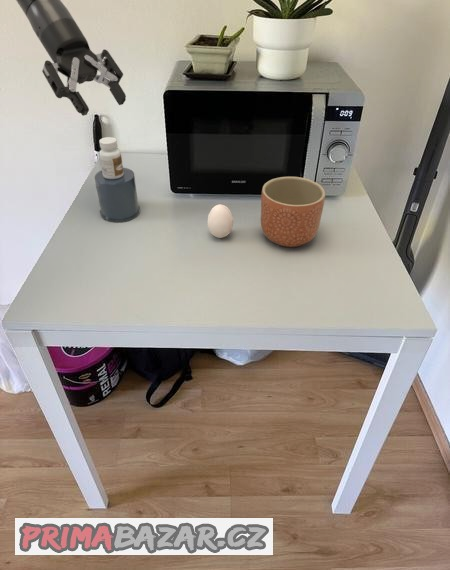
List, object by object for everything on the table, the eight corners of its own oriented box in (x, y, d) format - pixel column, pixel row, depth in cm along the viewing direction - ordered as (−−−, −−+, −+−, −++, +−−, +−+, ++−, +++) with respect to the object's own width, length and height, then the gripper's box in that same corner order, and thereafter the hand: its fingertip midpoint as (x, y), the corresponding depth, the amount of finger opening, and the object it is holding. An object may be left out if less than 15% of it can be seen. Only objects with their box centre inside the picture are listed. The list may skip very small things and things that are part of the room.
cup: (104, 226, 96) (97, 188, 90) (96, 206, 102) (89, 170, 97) (145, 217, 99) (140, 180, 93) (134, 199, 105) (129, 163, 99)
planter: (321, 255, 88) (330, 206, 81) (259, 253, 88) (263, 205, 81) (313, 222, 98) (320, 176, 91) (257, 221, 98) (260, 175, 91)
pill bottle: (121, 180, 93) (116, 144, 88) (101, 179, 93) (94, 144, 88) (125, 171, 96) (120, 136, 92) (105, 170, 97) (99, 135, 92)
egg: (236, 240, 92) (237, 209, 87) (212, 245, 91) (212, 214, 86) (227, 227, 96) (227, 197, 91) (204, 232, 94) (203, 201, 90)
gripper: (26, 21, 76) (78, 105, 77) (95, 12, 84) (141, 87, 85) (19, 51, 82) (68, 128, 83) (84, 39, 90) (127, 109, 91)
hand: (105, 107), depth 84 cm, fingers open, 8 cm apart
